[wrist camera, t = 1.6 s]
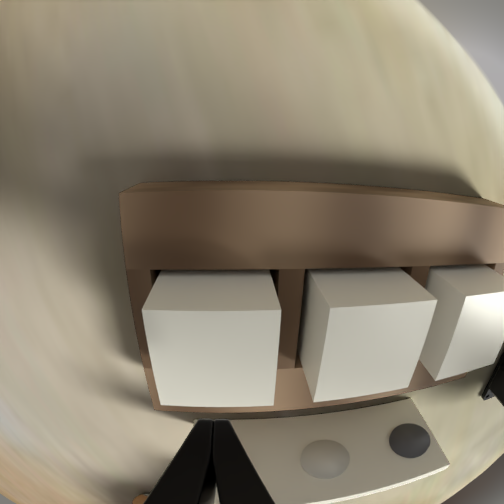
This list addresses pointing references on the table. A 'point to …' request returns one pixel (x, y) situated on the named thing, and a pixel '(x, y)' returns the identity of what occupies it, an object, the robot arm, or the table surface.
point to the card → (340, 452)
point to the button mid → (361, 330)
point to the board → (298, 250)
